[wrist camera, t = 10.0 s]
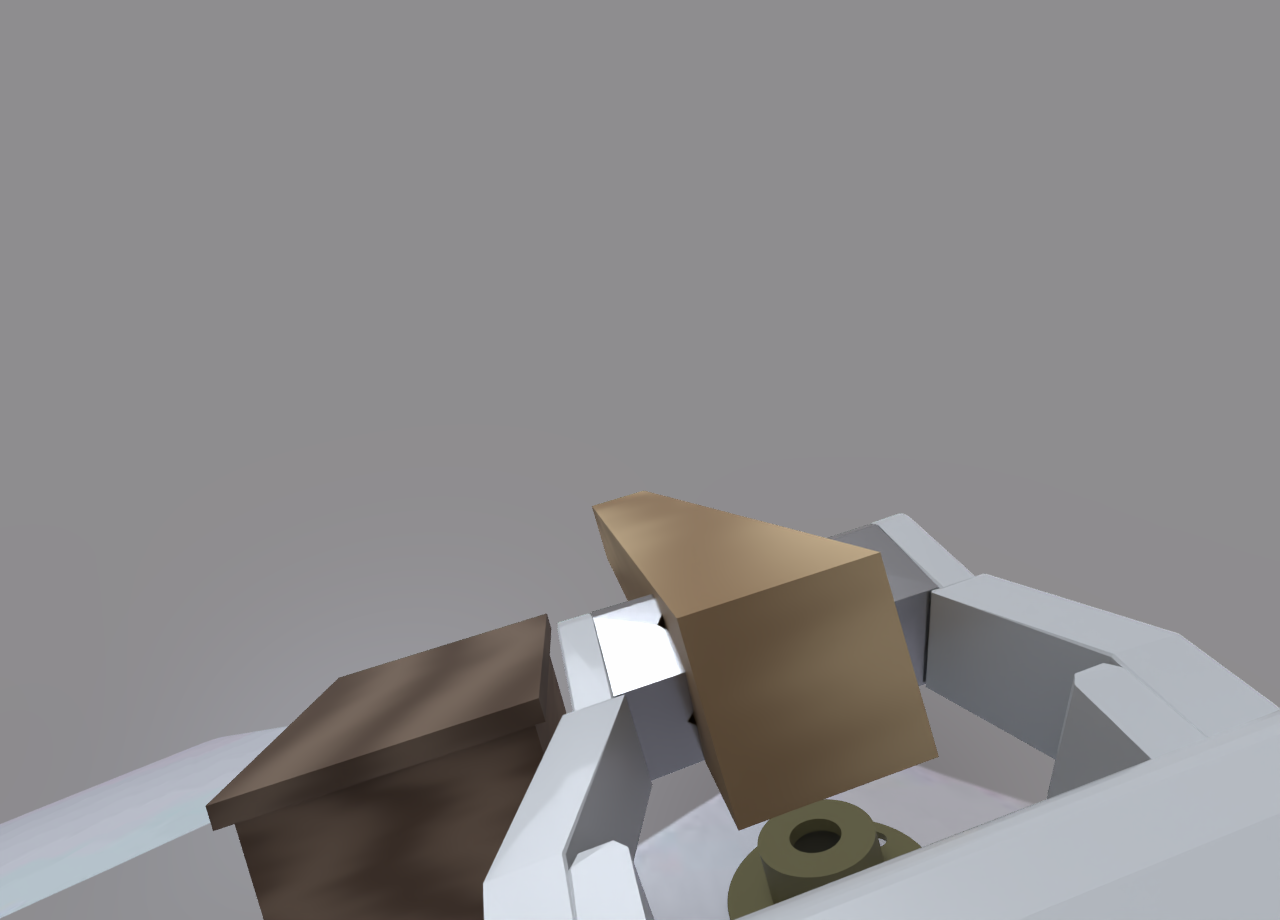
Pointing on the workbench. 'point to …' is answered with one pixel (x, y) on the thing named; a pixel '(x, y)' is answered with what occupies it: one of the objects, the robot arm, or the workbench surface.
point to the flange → (811, 854)
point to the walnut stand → (398, 782)
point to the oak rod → (775, 650)
